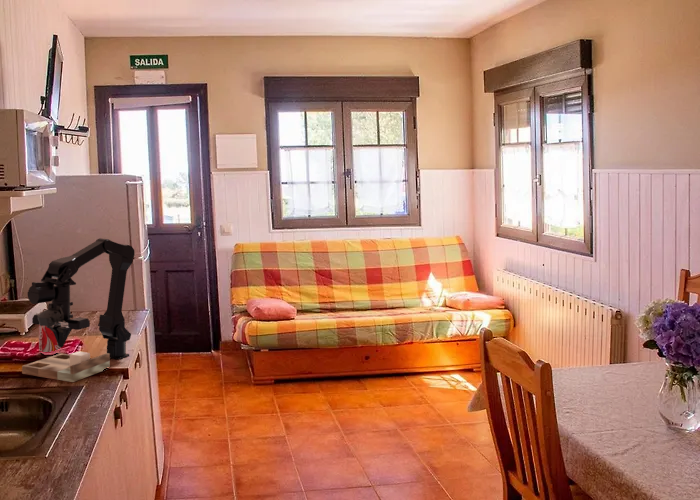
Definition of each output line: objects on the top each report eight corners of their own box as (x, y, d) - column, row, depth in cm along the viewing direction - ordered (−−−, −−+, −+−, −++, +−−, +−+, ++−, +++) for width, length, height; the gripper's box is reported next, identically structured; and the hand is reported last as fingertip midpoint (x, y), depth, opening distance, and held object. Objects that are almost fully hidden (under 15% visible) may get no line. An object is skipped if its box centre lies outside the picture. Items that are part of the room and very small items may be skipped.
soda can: (53, 357, 279) (53, 323, 277) (34, 355, 280) (34, 321, 279) (64, 352, 286) (64, 319, 284) (46, 350, 287) (46, 317, 285)
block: (78, 363, 264) (78, 351, 263) (90, 365, 262) (89, 352, 262) (69, 366, 259) (69, 354, 259) (80, 368, 258) (80, 356, 257)
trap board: (60, 360, 275) (60, 346, 274) (109, 368, 268) (109, 353, 267) (22, 373, 258) (21, 358, 258) (73, 382, 251) (72, 366, 251)
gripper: (19, 300, 257) (20, 348, 258) (67, 306, 250) (67, 356, 252) (44, 295, 267) (44, 341, 269) (90, 301, 260) (90, 348, 262)
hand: (61, 346), depth 263 cm, fingers closed
